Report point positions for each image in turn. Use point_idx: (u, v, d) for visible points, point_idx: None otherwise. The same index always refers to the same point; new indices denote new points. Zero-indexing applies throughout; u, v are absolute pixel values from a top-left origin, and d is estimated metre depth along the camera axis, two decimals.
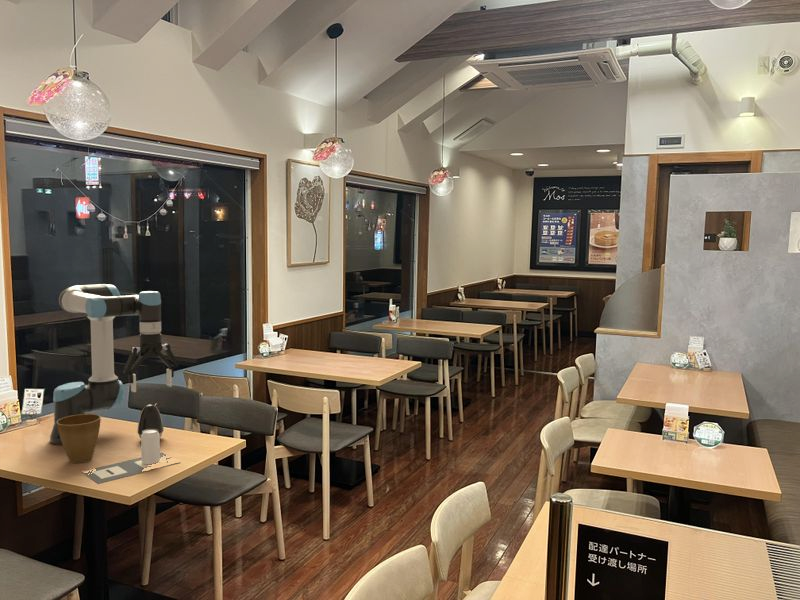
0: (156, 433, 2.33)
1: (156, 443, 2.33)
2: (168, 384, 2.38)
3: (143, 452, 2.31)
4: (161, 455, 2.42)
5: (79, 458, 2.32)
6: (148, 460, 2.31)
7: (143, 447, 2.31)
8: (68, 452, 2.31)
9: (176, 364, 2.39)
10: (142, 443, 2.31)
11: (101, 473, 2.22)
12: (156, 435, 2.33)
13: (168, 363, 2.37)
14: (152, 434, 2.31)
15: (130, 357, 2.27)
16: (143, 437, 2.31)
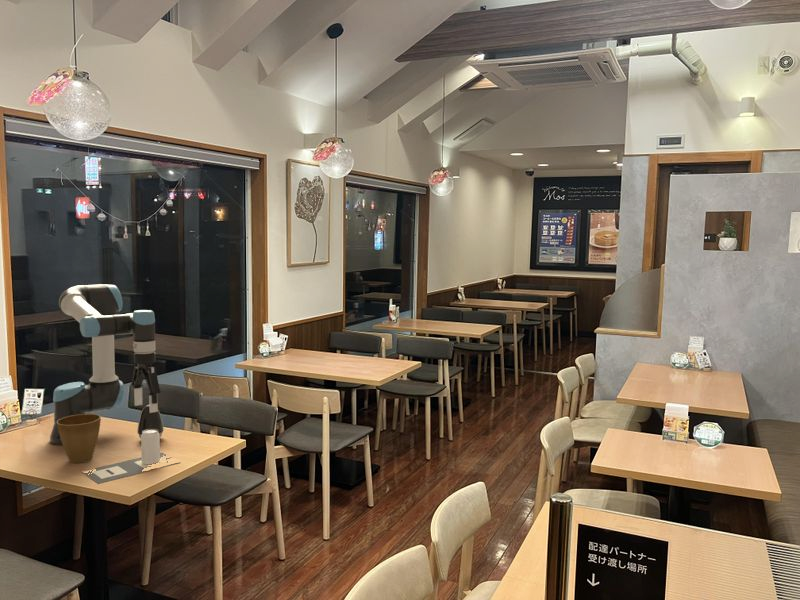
0: (156, 433, 2.33)
1: (156, 443, 2.33)
2: None
3: (143, 452, 2.31)
4: (161, 455, 2.42)
5: (79, 458, 2.32)
6: (148, 460, 2.31)
7: (143, 447, 2.31)
8: (68, 452, 2.31)
9: (152, 391, 2.24)
10: (142, 443, 2.31)
11: (101, 473, 2.22)
12: (156, 435, 2.33)
13: (149, 387, 2.26)
14: (152, 434, 2.31)
15: None
16: (143, 437, 2.31)
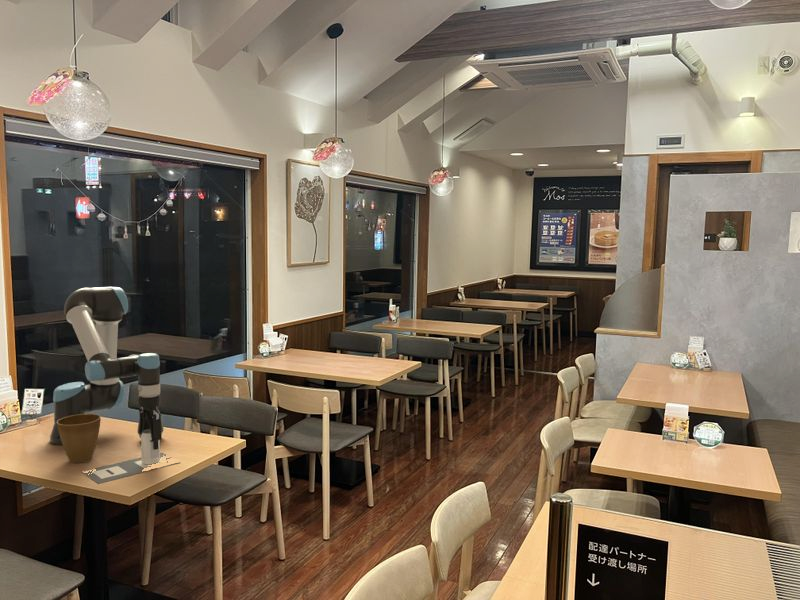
0: None
1: None
2: None
3: (143, 452, 2.31)
4: (161, 455, 2.42)
5: (79, 458, 2.32)
6: (148, 460, 2.31)
7: (143, 447, 2.31)
8: (68, 452, 2.31)
9: (154, 437, 2.29)
10: (142, 443, 2.31)
11: (101, 473, 2.22)
12: None
13: (151, 433, 2.30)
14: None
15: None
16: (143, 437, 2.31)
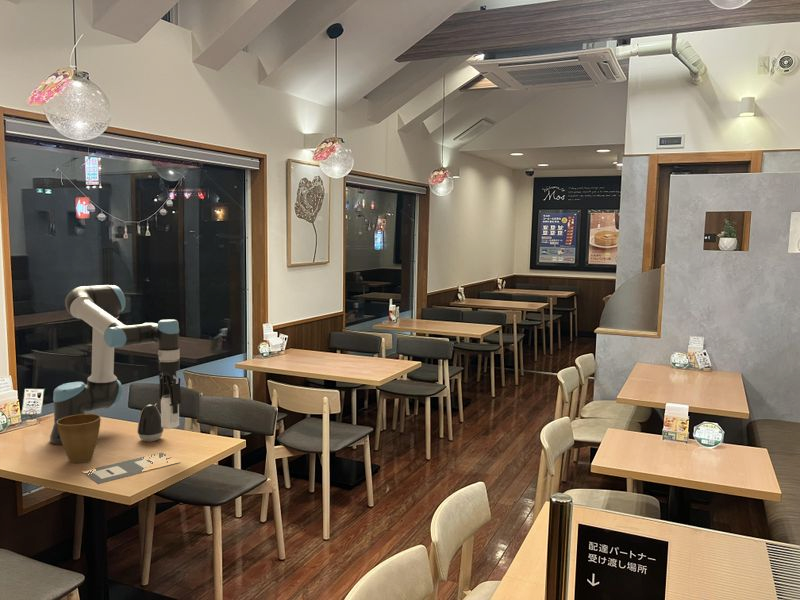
0: None
1: None
2: None
3: (163, 416, 2.36)
4: (161, 455, 2.42)
5: (79, 458, 2.32)
6: (167, 424, 2.36)
7: (163, 411, 2.36)
8: (68, 452, 2.31)
9: (173, 401, 2.33)
10: (162, 407, 2.36)
11: (101, 473, 2.22)
12: None
13: (170, 397, 2.35)
14: None
15: None
16: (163, 401, 2.35)
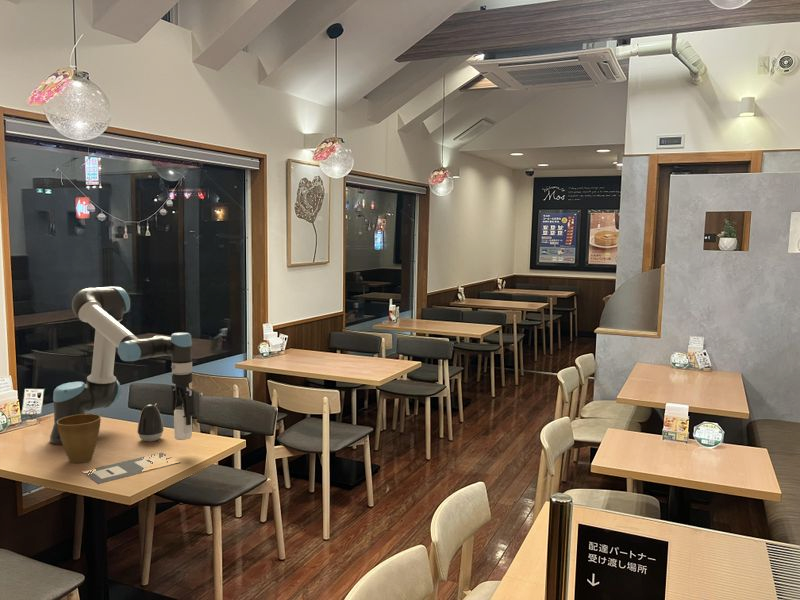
0: None
1: None
2: None
3: (176, 428, 2.40)
4: (161, 455, 2.42)
5: (79, 458, 2.32)
6: (180, 435, 2.40)
7: (176, 423, 2.40)
8: (68, 452, 2.31)
9: (187, 413, 2.37)
10: (175, 419, 2.40)
11: (101, 473, 2.22)
12: None
13: (184, 409, 2.39)
14: None
15: None
16: (176, 413, 2.40)
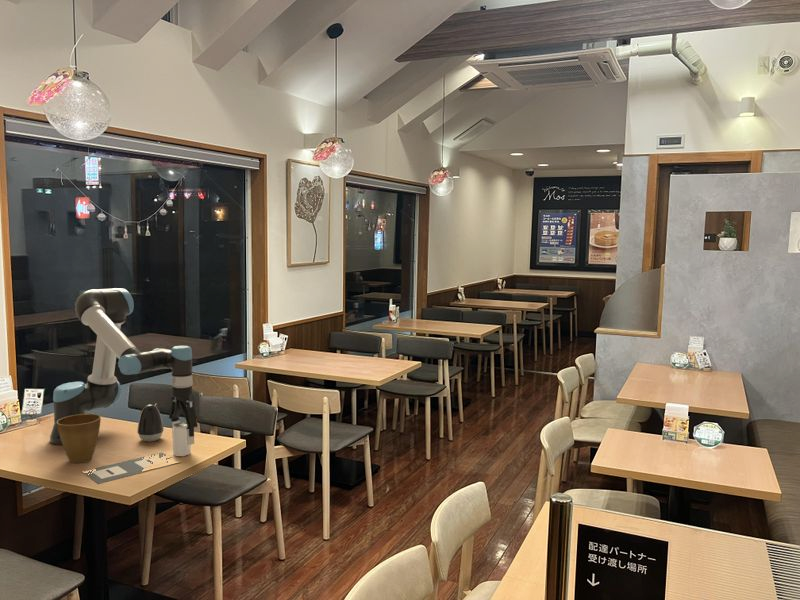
0: (187, 426, 2.43)
1: None
2: None
3: (175, 445, 2.41)
4: (161, 455, 2.42)
5: (79, 458, 2.32)
6: (179, 452, 2.41)
7: (175, 440, 2.41)
8: (68, 452, 2.31)
9: (190, 425, 2.36)
10: (174, 436, 2.41)
11: (101, 473, 2.22)
12: None
13: (186, 421, 2.38)
14: (183, 427, 2.41)
15: None
16: (175, 430, 2.41)
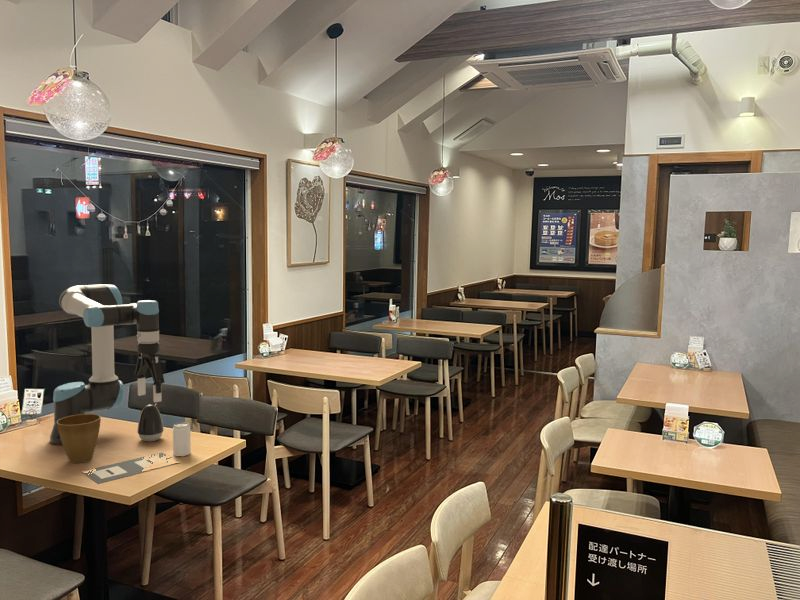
0: (187, 426, 2.43)
1: (187, 436, 2.42)
2: None
3: (175, 445, 2.41)
4: (161, 455, 2.42)
5: (79, 458, 2.32)
6: (179, 452, 2.41)
7: (175, 440, 2.41)
8: (68, 452, 2.31)
9: (156, 381, 2.25)
10: (174, 436, 2.41)
11: (101, 473, 2.22)
12: (187, 428, 2.42)
13: (153, 377, 2.27)
14: (183, 427, 2.41)
15: None
16: (175, 430, 2.41)
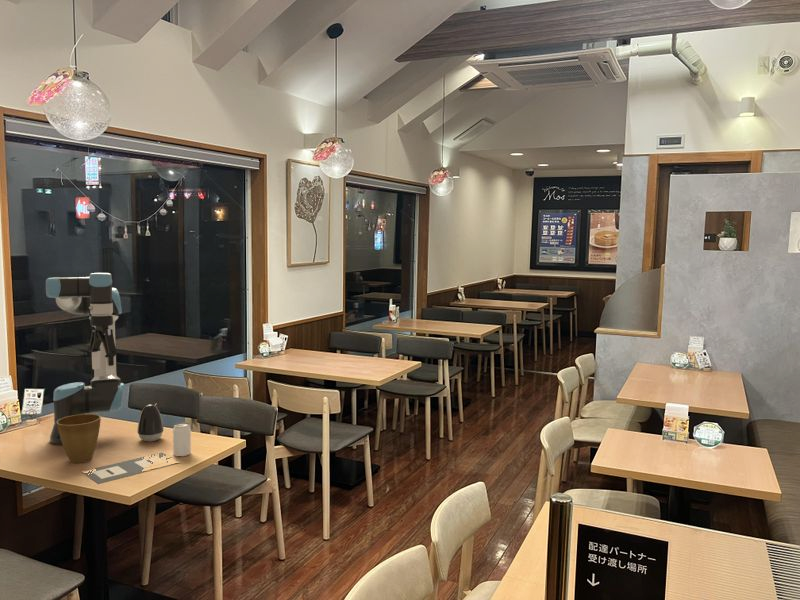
0: (188, 426, 2.43)
1: (188, 436, 2.42)
2: None
3: (175, 444, 2.41)
4: (161, 455, 2.42)
5: (79, 458, 2.32)
6: (179, 452, 2.41)
7: (175, 440, 2.41)
8: (68, 452, 2.31)
9: (108, 353, 2.23)
10: (174, 436, 2.41)
11: (101, 473, 2.22)
12: (188, 428, 2.42)
13: (105, 349, 2.26)
14: (184, 427, 2.41)
15: None
16: (175, 430, 2.41)
